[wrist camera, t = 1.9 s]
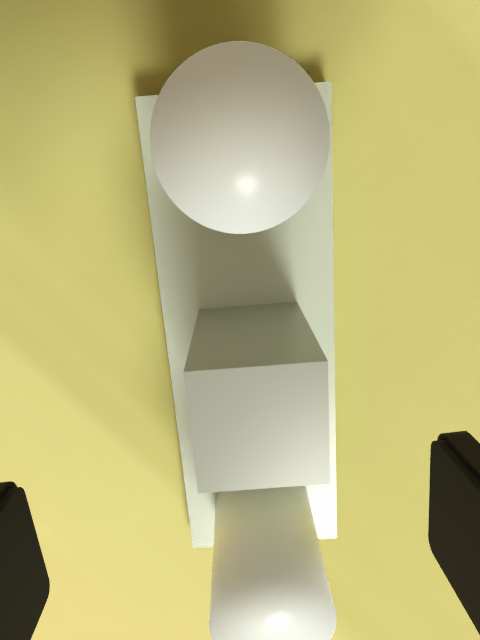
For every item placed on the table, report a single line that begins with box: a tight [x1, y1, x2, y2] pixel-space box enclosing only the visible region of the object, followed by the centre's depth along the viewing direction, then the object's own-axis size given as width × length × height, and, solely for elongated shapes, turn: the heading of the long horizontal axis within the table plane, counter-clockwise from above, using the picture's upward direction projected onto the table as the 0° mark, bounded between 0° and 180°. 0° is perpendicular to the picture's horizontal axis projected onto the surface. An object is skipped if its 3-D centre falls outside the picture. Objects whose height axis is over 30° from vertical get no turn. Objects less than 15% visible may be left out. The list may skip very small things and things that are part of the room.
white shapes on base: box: [135, 41, 337, 640], centre depth 17 cm, size 7×20×8 cm, turn 4°
